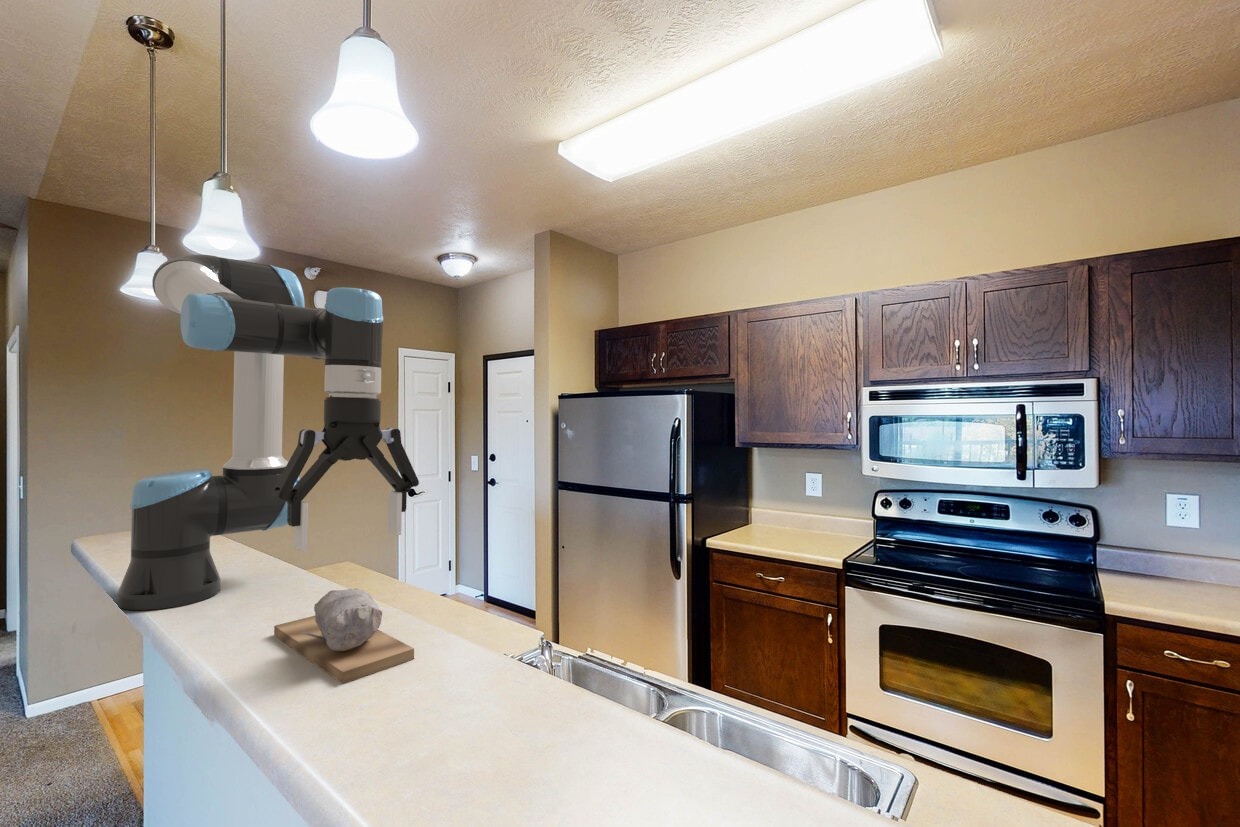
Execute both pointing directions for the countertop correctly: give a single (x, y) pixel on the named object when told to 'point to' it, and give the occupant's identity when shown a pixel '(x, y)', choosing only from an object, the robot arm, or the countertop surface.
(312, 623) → the board
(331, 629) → the stone
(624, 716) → the countertop surface
